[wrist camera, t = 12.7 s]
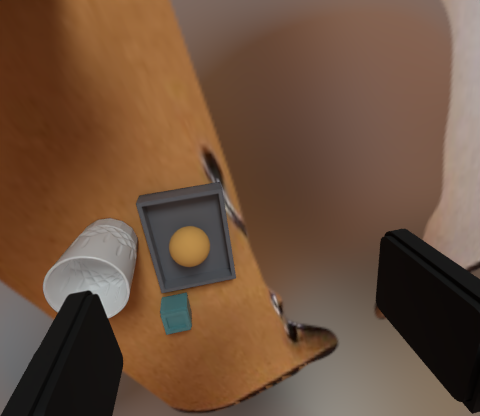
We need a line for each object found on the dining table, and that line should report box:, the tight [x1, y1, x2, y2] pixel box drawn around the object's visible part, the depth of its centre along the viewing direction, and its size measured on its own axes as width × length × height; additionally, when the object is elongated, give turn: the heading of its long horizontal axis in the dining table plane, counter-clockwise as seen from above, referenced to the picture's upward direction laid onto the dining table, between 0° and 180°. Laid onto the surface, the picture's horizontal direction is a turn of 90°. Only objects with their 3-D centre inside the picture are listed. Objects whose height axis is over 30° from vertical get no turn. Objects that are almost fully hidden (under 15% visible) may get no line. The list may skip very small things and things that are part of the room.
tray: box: [136, 182, 236, 293], centre depth 39 cm, size 13×10×3 cm
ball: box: [169, 226, 210, 267], centre depth 37 cm, size 5×5×5 cm
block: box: [160, 293, 192, 335], centre depth 43 cm, size 4×4×4 cm
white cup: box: [43, 218, 138, 318], centre depth 34 cm, size 8×8×10 cm
